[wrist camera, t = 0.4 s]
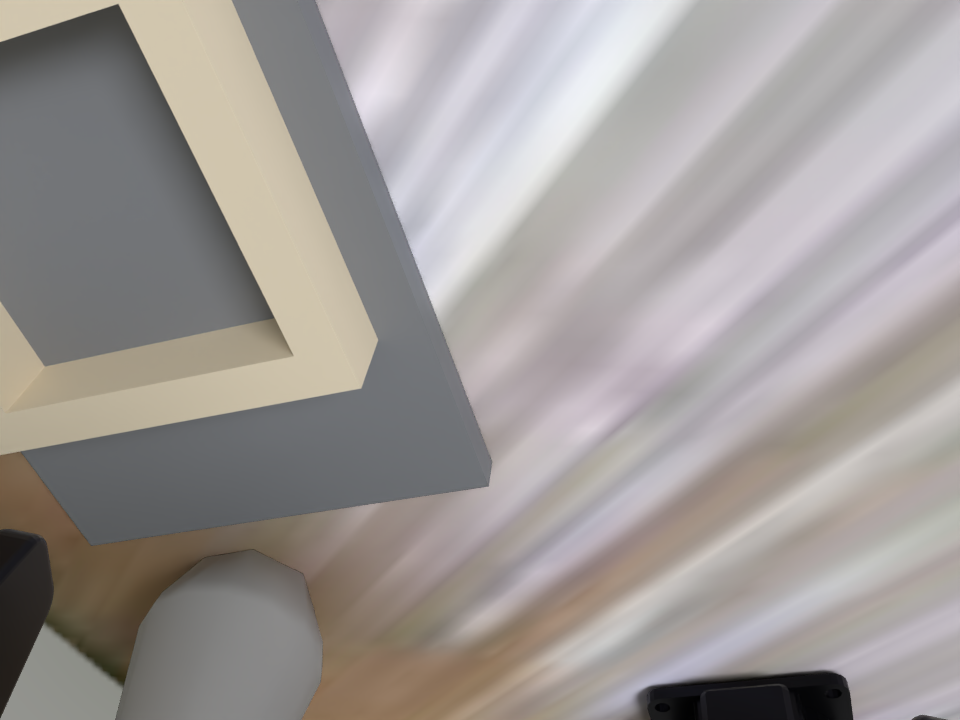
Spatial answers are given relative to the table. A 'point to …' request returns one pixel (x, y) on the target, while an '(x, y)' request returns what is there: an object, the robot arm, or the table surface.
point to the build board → (208, 275)
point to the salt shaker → (226, 645)
